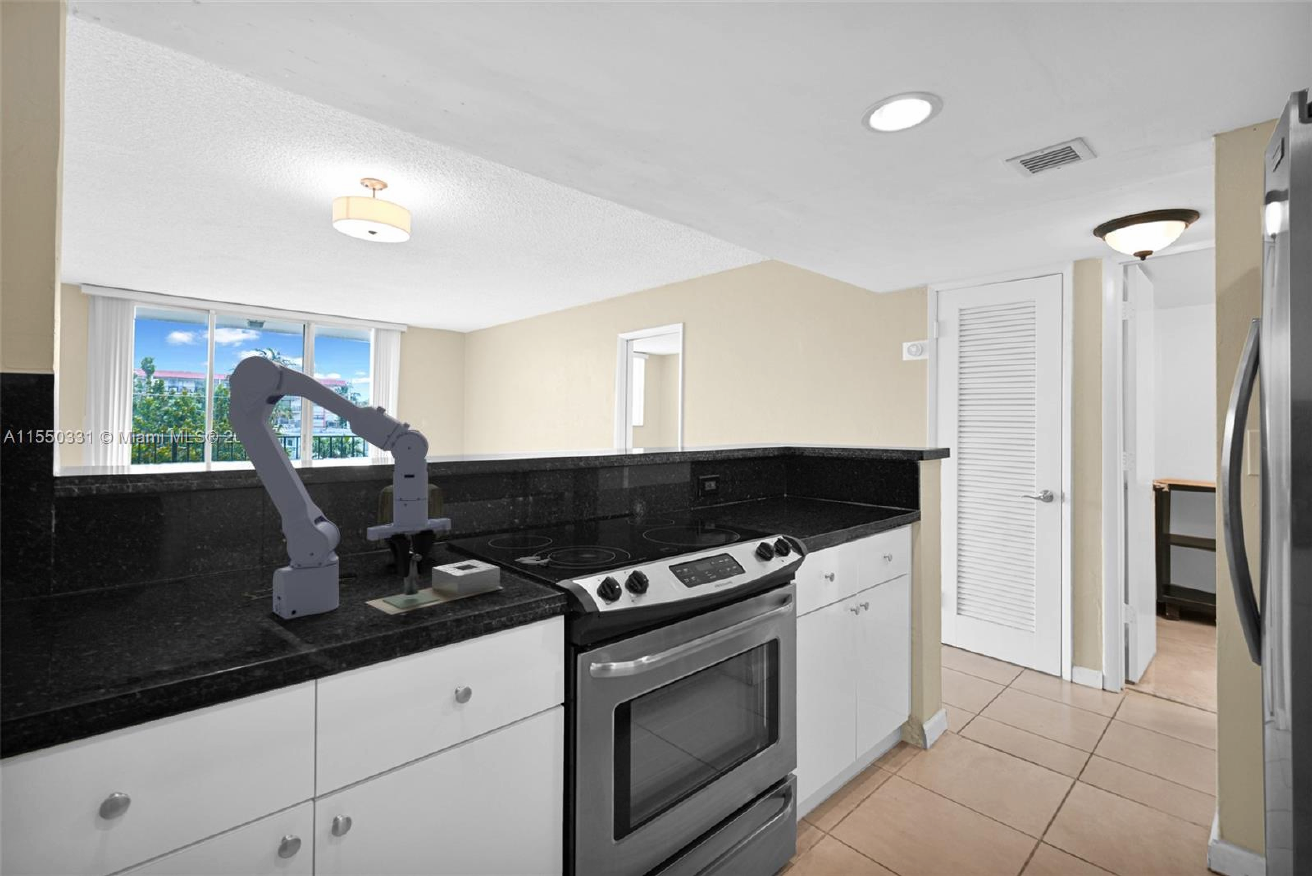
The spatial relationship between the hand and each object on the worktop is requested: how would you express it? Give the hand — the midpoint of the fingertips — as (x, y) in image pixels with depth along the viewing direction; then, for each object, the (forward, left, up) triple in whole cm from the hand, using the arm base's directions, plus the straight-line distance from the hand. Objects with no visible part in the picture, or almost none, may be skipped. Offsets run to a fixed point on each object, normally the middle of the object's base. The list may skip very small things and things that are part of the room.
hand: (410, 574), depth 110 cm
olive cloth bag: (+18, +34, -6) cm, 39 cm away
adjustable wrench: (+26, +14, -6) cm, 30 cm away
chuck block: (+11, 0, -5) cm, 12 cm away
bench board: (+5, 0, -6) cm, 8 cm away
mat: (0, 0, -5) cm, 5 cm away
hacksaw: (-9, +26, -6) cm, 28 cm away
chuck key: (0, 0, -3) cm, 3 cm away
